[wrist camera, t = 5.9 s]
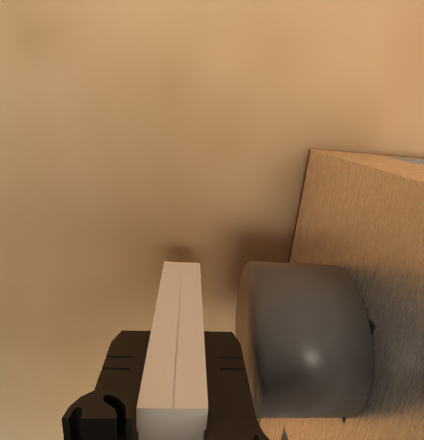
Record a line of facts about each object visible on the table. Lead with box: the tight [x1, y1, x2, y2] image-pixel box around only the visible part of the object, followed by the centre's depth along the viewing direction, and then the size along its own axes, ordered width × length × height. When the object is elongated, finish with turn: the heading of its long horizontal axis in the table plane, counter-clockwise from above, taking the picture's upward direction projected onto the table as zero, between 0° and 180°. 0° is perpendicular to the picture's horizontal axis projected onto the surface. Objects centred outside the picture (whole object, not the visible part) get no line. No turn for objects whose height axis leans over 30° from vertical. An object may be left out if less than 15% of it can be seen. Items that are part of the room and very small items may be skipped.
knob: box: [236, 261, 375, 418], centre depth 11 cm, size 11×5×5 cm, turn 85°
